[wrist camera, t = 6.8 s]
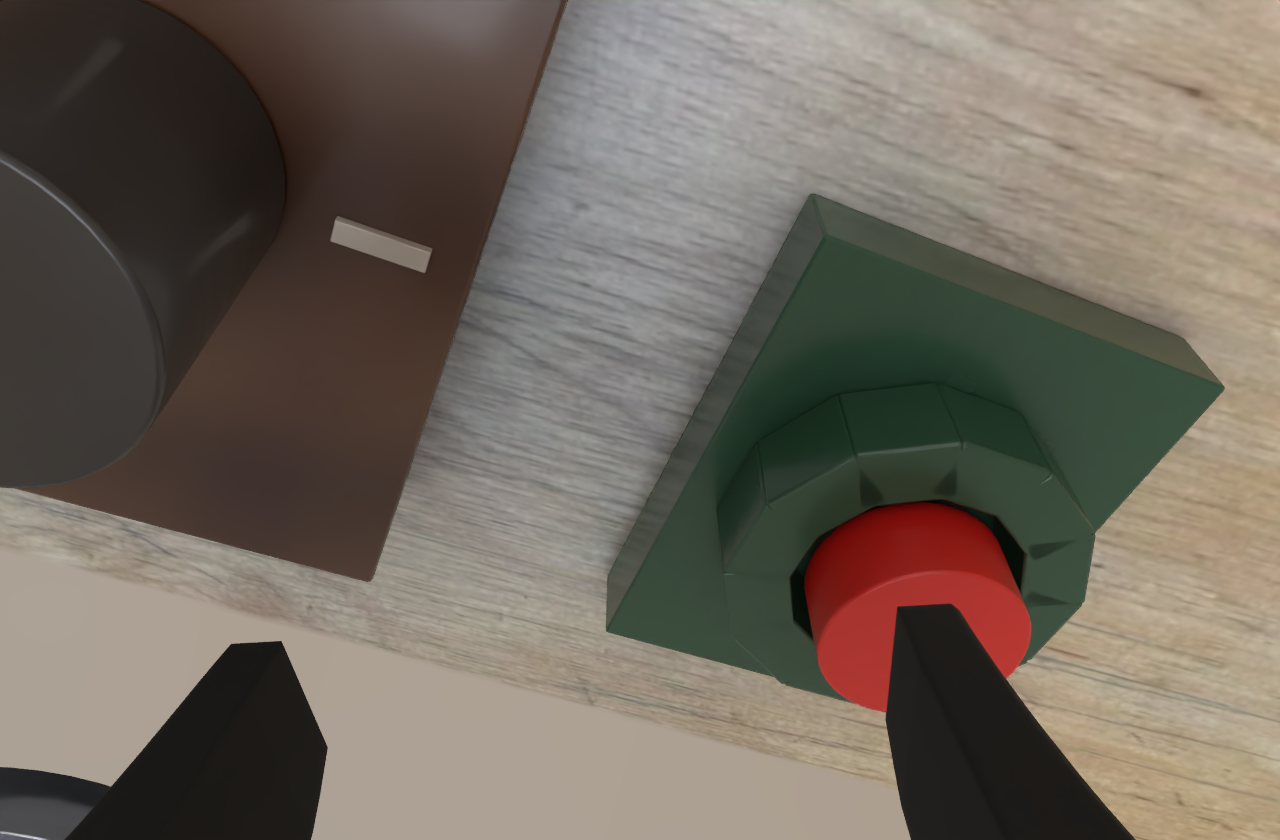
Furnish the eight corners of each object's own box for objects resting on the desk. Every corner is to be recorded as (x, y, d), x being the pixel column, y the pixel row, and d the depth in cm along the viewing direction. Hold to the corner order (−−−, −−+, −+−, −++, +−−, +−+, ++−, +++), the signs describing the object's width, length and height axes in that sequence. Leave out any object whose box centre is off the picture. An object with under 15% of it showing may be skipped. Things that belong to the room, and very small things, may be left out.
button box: (911, 661, 24) (947, 788, 22) (607, 575, 23) (602, 701, 20) (1185, 337, 19) (1280, 451, 16) (810, 191, 17) (844, 289, 14)
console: (401, 482, 21) (368, 591, 19) (-117, 331, 19) (-236, 431, 16) (651, -266, 13) (653, -253, 11) (-174, -664, 11) (-415, -770, 9)
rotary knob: (220, -36, 12) (27, 91, 8) (327, 281, 15) (216, 491, 11) (-119, 5, 13) (-457, 147, 9) (43, 309, 15) (-162, 524, 11)
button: (934, 659, 20) (957, 733, 18) (770, 612, 19) (781, 686, 18) (1042, 534, 18) (1076, 606, 16) (864, 476, 17) (884, 547, 16)
